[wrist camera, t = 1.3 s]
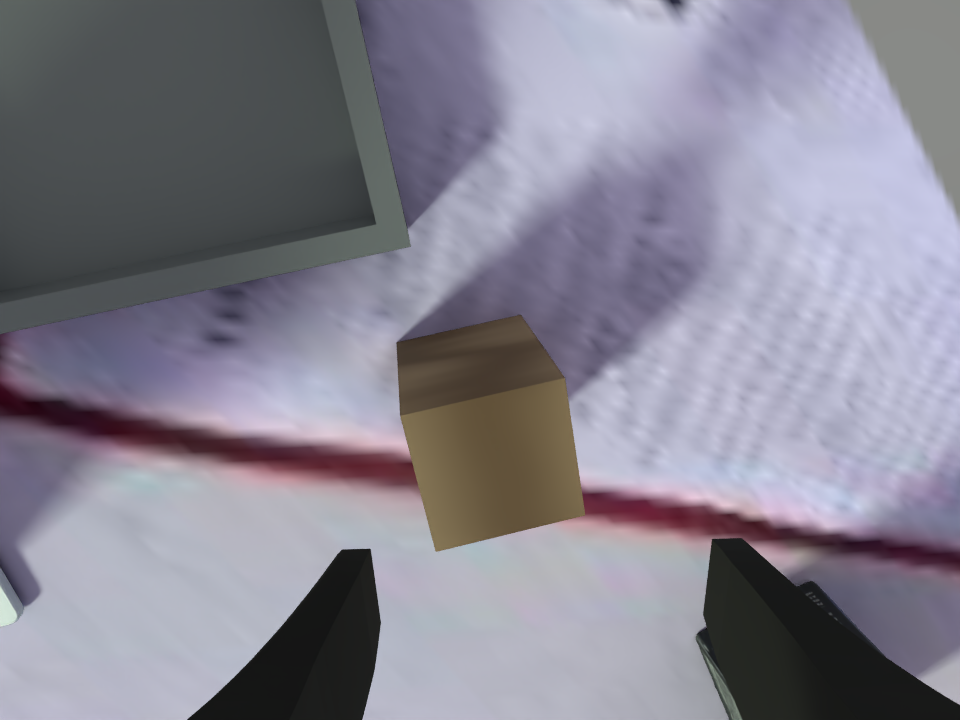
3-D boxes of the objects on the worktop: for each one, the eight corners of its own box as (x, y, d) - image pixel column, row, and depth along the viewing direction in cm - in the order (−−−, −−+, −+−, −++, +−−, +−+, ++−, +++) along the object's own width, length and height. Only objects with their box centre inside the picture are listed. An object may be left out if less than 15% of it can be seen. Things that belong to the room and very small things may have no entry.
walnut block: (424, 451, 24) (435, 551, 18) (396, 342, 22) (400, 415, 17) (538, 424, 24) (585, 515, 19) (520, 314, 22) (565, 377, 17)
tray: (-27, 321, 20) (-95, 354, 17) (-315, -238, 15) (-479, -322, 12) (407, 229, 21) (410, 246, 18) (280, -329, 16) (256, -428, 13)
